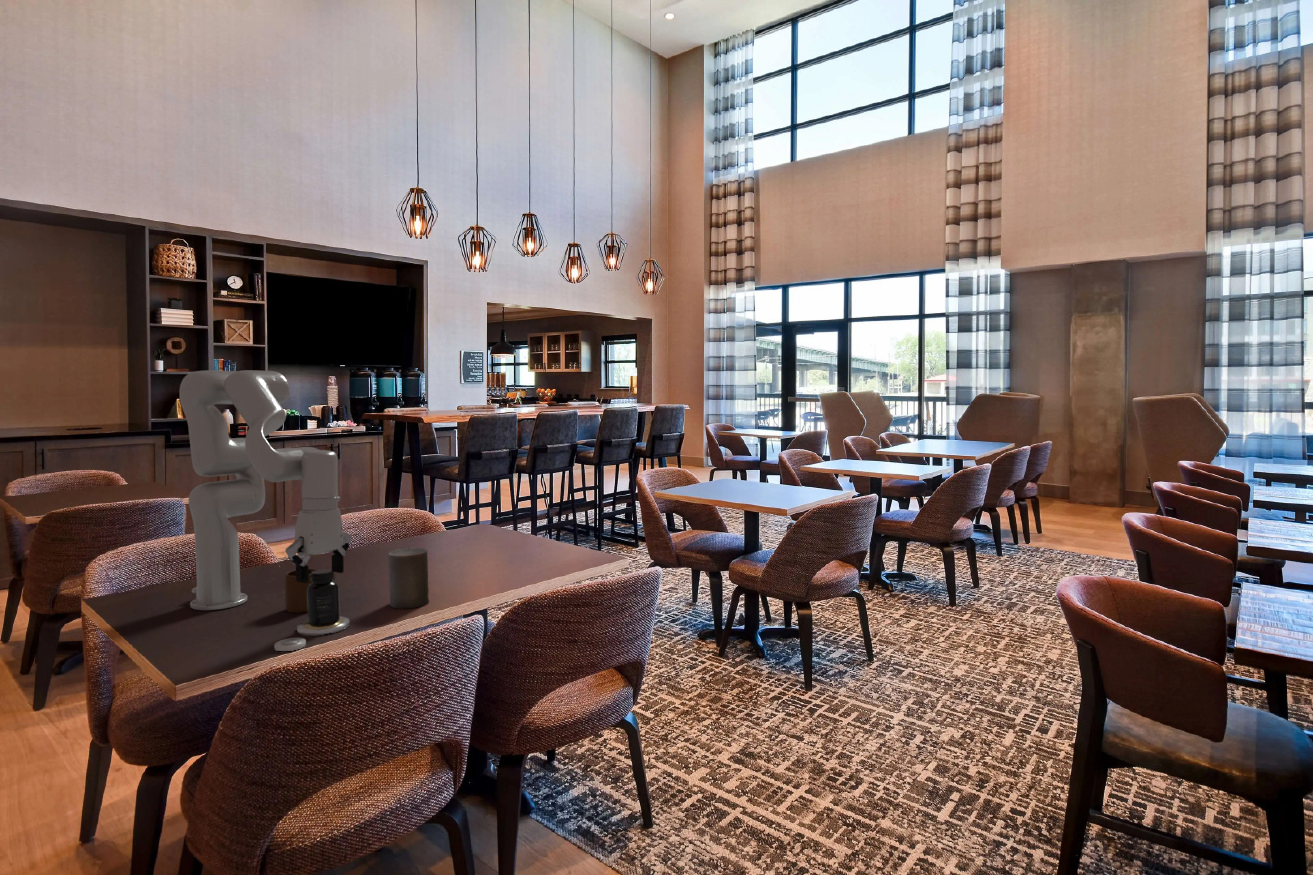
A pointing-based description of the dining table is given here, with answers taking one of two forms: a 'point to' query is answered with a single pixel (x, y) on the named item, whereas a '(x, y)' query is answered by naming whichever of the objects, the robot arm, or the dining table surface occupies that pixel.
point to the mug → (296, 592)
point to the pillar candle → (408, 578)
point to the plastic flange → (290, 644)
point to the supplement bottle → (323, 598)
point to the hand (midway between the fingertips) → (320, 576)
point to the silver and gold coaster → (322, 628)
